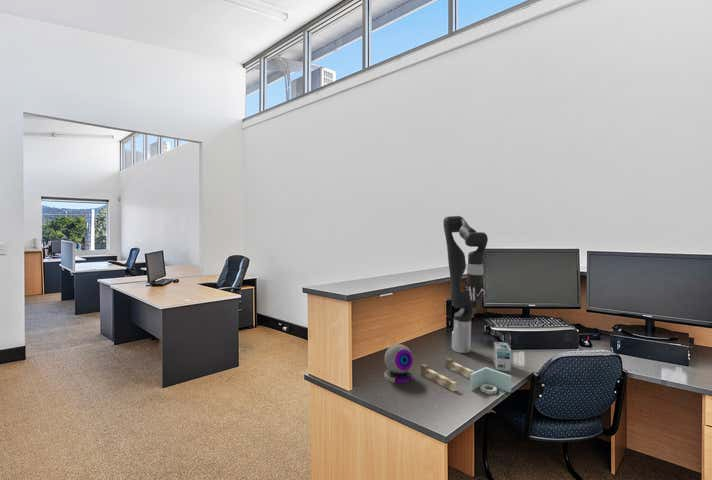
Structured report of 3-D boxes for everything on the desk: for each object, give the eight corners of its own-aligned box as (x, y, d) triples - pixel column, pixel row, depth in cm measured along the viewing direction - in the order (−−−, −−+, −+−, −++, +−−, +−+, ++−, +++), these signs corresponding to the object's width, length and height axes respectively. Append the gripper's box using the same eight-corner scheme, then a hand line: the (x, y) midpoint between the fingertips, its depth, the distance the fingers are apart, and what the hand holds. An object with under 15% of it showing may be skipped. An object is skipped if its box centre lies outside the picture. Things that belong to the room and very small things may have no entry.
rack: (420, 374, 174) (420, 364, 173) (449, 366, 183) (449, 357, 183) (452, 391, 157) (452, 381, 156) (482, 382, 166) (482, 372, 166)
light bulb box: (511, 371, 178) (511, 349, 178) (496, 370, 180) (497, 348, 179) (506, 363, 189) (507, 342, 188) (492, 362, 190) (493, 341, 189)
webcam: (392, 385, 162) (393, 351, 161) (379, 373, 174) (379, 342, 173) (418, 380, 167) (418, 347, 166) (403, 369, 179) (404, 339, 178)
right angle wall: (469, 391, 159) (470, 374, 158) (485, 383, 166) (485, 367, 166) (496, 402, 149) (496, 383, 149) (510, 393, 157) (511, 375, 157)
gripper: (459, 271, 186) (458, 306, 187) (480, 275, 174) (479, 312, 175) (469, 270, 190) (468, 304, 191) (491, 274, 178) (490, 310, 179)
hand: (474, 308), depth 183 cm, fingers closed
